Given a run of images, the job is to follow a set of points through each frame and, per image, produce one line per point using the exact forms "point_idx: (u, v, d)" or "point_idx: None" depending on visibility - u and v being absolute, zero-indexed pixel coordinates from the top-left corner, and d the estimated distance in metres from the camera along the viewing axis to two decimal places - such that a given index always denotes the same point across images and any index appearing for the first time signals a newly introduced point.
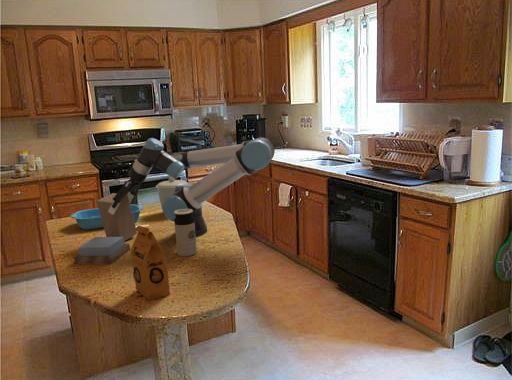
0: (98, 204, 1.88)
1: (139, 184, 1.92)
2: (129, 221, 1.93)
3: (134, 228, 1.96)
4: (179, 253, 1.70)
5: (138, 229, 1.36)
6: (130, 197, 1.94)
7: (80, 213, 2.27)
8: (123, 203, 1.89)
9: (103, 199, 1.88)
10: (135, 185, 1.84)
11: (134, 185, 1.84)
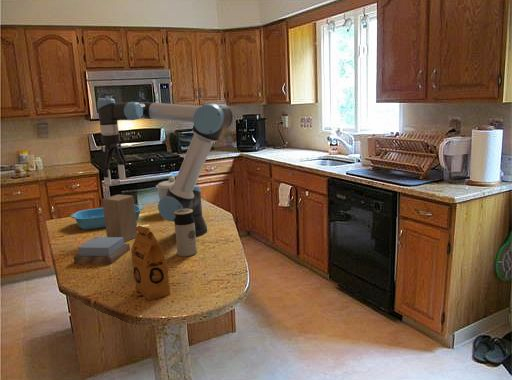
0: (103, 202, 1.91)
1: (121, 151, 1.94)
2: (132, 223, 1.94)
3: (135, 231, 1.97)
4: (179, 253, 1.70)
5: (138, 229, 1.36)
6: (121, 168, 1.96)
7: (80, 213, 2.27)
8: (129, 203, 1.92)
9: (109, 198, 1.91)
10: (114, 148, 1.86)
11: (113, 149, 1.85)
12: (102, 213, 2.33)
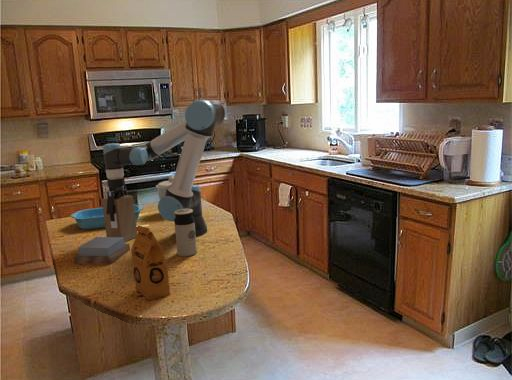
0: (103, 202, 1.90)
1: (126, 192, 1.98)
2: (131, 223, 1.94)
3: (135, 231, 1.97)
4: (179, 253, 1.70)
5: (138, 229, 1.36)
6: None
7: (81, 212, 2.28)
8: (128, 203, 1.92)
9: None
10: (119, 192, 1.90)
11: (118, 192, 1.89)
12: (103, 213, 2.33)
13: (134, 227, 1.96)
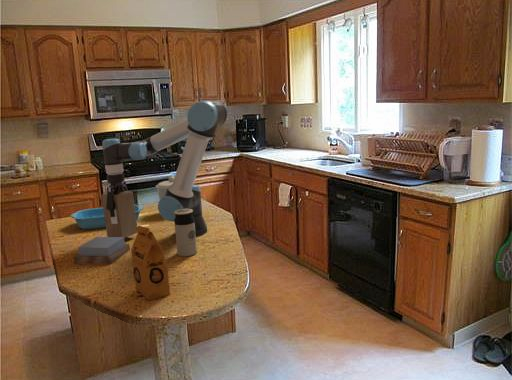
0: (103, 198, 1.90)
1: (126, 188, 1.97)
2: (131, 218, 1.94)
3: (135, 226, 1.96)
4: (179, 253, 1.70)
5: (138, 229, 1.36)
6: None
7: (81, 212, 2.28)
8: (128, 199, 1.91)
9: None
10: (119, 187, 1.89)
11: (118, 188, 1.89)
12: (103, 213, 2.33)
13: (134, 223, 1.95)
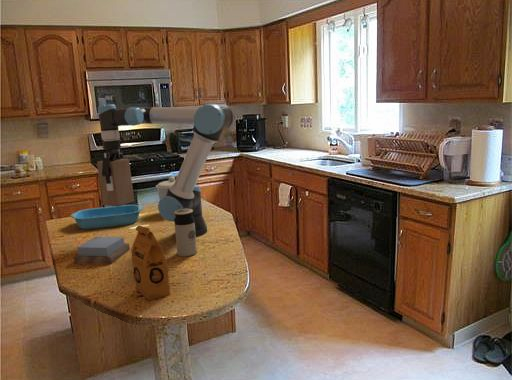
0: (98, 165, 1.87)
1: (122, 156, 1.94)
2: (128, 186, 1.91)
3: (132, 195, 1.93)
4: (179, 253, 1.70)
5: (138, 229, 1.36)
6: None
7: (82, 212, 2.28)
8: (124, 166, 1.88)
9: None
10: (115, 154, 1.86)
11: (114, 154, 1.86)
12: (103, 213, 2.33)
13: (130, 191, 1.92)
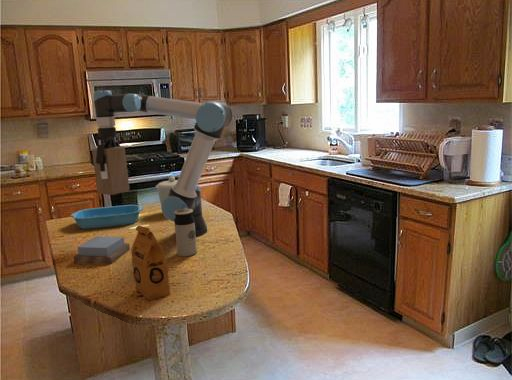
0: (93, 152, 1.83)
1: (118, 144, 1.90)
2: (123, 175, 1.87)
3: (127, 184, 1.89)
4: (179, 253, 1.70)
5: (138, 229, 1.36)
6: None
7: (82, 212, 2.29)
8: (120, 154, 1.84)
9: None
10: (110, 141, 1.82)
11: (109, 142, 1.82)
12: (104, 213, 2.33)
13: (126, 180, 1.88)
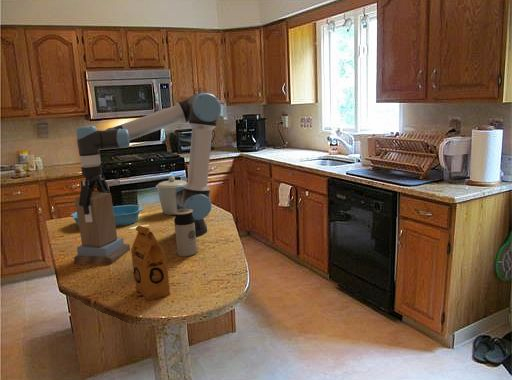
0: (76, 201, 1.66)
1: (104, 182, 1.74)
2: (110, 224, 1.71)
3: (114, 232, 1.74)
4: (179, 253, 1.70)
5: (138, 229, 1.36)
6: None
7: None
8: (106, 202, 1.69)
9: None
10: (95, 181, 1.66)
11: (94, 182, 1.66)
12: None
13: (113, 228, 1.73)
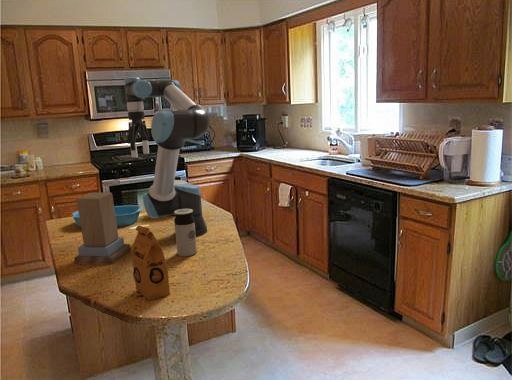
0: (79, 202, 1.65)
1: (145, 127, 2.08)
2: (112, 223, 1.72)
3: (116, 232, 1.75)
4: (179, 253, 1.70)
5: (138, 229, 1.36)
6: (146, 143, 2.10)
7: None
8: (109, 201, 1.70)
9: (85, 197, 1.66)
10: (139, 124, 2.00)
11: (138, 124, 2.00)
12: None
13: (115, 228, 1.74)
